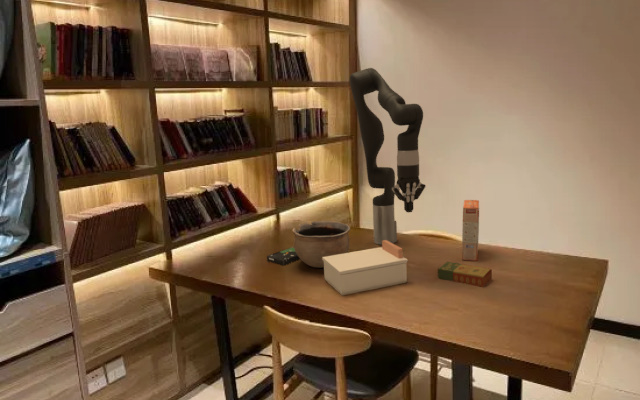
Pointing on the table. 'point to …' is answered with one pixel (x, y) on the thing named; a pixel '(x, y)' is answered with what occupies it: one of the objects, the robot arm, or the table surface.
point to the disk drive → (283, 256)
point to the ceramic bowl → (320, 241)
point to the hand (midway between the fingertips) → (408, 211)
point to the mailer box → (365, 278)
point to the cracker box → (470, 230)
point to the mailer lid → (366, 258)
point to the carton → (465, 274)
